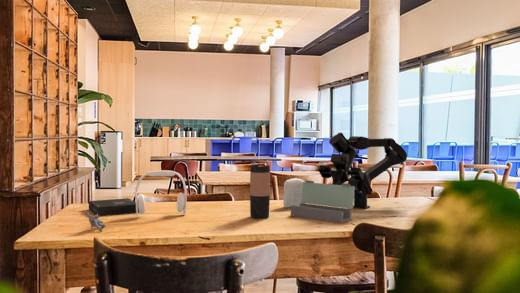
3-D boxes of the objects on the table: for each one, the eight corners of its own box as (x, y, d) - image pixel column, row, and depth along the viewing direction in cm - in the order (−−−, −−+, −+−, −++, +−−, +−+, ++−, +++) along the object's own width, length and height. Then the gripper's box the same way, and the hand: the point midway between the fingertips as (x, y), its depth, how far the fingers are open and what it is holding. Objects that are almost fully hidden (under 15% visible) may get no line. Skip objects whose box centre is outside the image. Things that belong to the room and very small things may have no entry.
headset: (185, 213, 191) (185, 169, 190) (188, 216, 184) (188, 170, 184) (134, 216, 185) (133, 170, 184) (135, 219, 178) (135, 171, 177)
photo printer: (300, 204, 214) (300, 177, 213) (306, 206, 210) (306, 178, 210) (281, 206, 208) (282, 178, 208) (287, 208, 205) (288, 179, 204)
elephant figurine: (117, 228, 163) (105, 224, 155) (104, 241, 163) (91, 237, 154) (100, 208, 167) (87, 203, 158) (87, 220, 166) (74, 215, 157)
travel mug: (255, 219, 179) (255, 166, 179) (246, 216, 186) (246, 165, 185) (273, 218, 183) (273, 166, 182) (263, 214, 190) (264, 164, 189)
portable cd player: (141, 213, 192) (141, 203, 192) (97, 217, 183) (97, 207, 183) (129, 207, 206) (129, 198, 206) (88, 210, 197) (88, 201, 197)
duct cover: (299, 202, 194) (301, 202, 195) (350, 208, 181) (352, 208, 182) (301, 180, 194) (304, 180, 196) (352, 184, 182) (355, 185, 183)
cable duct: (301, 212, 195) (301, 203, 194) (351, 219, 182) (351, 209, 182) (290, 215, 188) (290, 205, 188) (341, 222, 175) (342, 212, 175)
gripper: (320, 146, 203) (306, 174, 194) (361, 147, 192) (348, 177, 184) (328, 163, 210) (316, 191, 201) (368, 165, 199) (357, 195, 190)
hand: (333, 188), depth 194 cm, fingers closed
